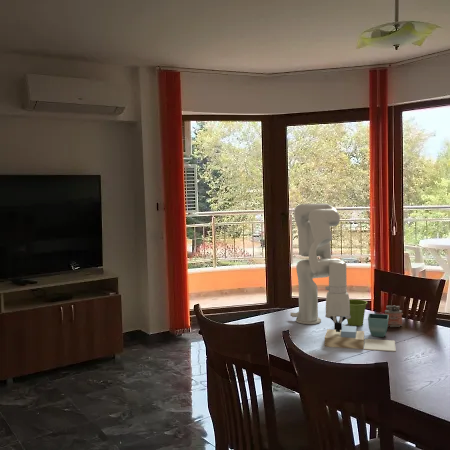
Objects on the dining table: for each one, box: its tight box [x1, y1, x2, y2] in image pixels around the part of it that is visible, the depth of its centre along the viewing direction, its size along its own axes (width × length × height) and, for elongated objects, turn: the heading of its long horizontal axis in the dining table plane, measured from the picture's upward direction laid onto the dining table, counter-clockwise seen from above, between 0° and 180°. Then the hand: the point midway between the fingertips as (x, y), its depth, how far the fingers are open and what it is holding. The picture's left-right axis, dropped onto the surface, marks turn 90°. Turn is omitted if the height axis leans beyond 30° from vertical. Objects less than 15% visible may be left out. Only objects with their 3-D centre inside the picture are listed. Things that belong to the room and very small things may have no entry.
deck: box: [324, 328, 365, 350], centre depth 221 cm, size 16×13×4 cm
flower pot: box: [367, 313, 389, 338], centre depth 232 cm, size 9×9×9 cm
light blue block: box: [341, 325, 358, 338], centre depth 221 cm, size 6×9×2 cm, turn 163°
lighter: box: [384, 304, 403, 328], centre depth 247 cm, size 8×3×10 cm, turn 84°
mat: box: [363, 338, 397, 352], centre depth 217 cm, size 12×14×1 cm
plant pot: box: [346, 298, 368, 327], centre depth 251 cm, size 12×12×11 cm
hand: (338, 331), depth 222 cm, fingers closed
